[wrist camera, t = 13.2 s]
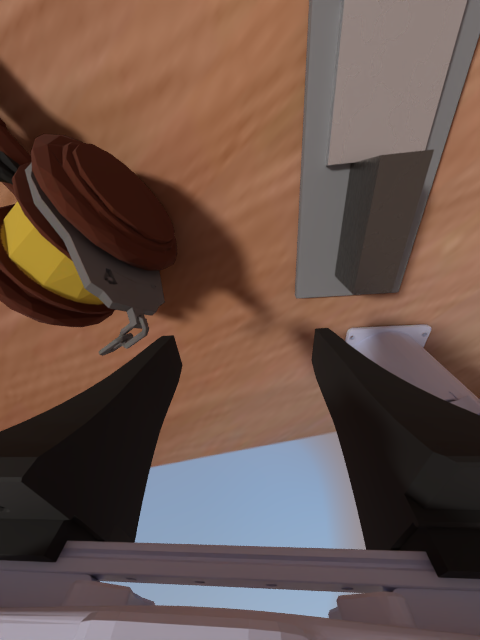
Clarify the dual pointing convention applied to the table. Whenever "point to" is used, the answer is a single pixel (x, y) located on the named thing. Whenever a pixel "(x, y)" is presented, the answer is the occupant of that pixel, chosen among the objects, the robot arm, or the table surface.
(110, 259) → the gavel
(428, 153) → the turner
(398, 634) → the robot arm
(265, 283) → the table surface
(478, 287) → the table surface
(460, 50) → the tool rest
